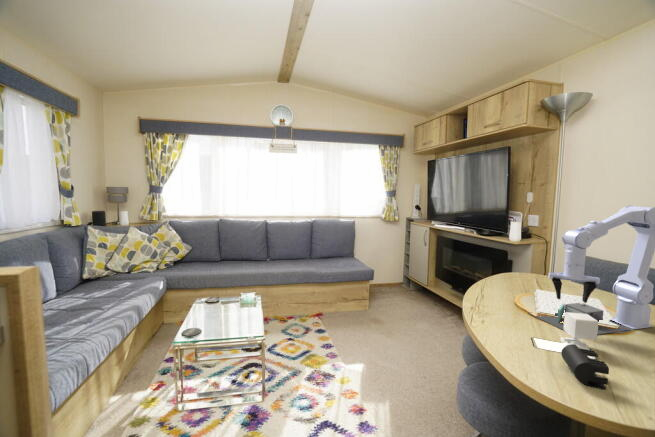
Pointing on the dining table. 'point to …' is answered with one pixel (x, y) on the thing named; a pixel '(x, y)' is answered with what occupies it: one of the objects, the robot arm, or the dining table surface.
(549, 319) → the mat
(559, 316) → the side door
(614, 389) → the dining table surface
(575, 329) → the security camera
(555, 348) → the smartphone
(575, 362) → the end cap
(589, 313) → the housing
